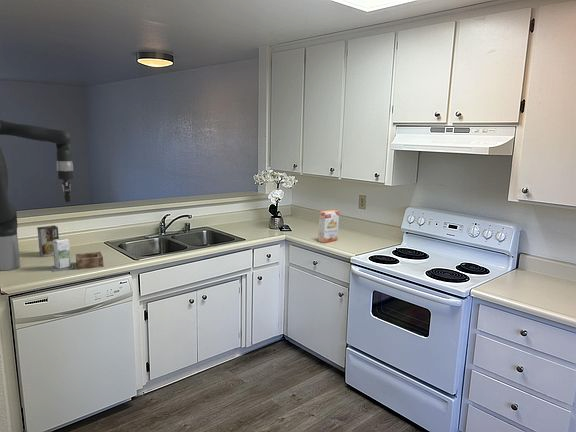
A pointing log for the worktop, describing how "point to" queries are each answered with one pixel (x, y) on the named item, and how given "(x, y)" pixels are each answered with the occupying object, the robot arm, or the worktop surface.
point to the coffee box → (47, 239)
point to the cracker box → (328, 226)
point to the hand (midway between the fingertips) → (67, 200)
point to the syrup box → (61, 253)
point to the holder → (89, 260)
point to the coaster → (62, 268)
